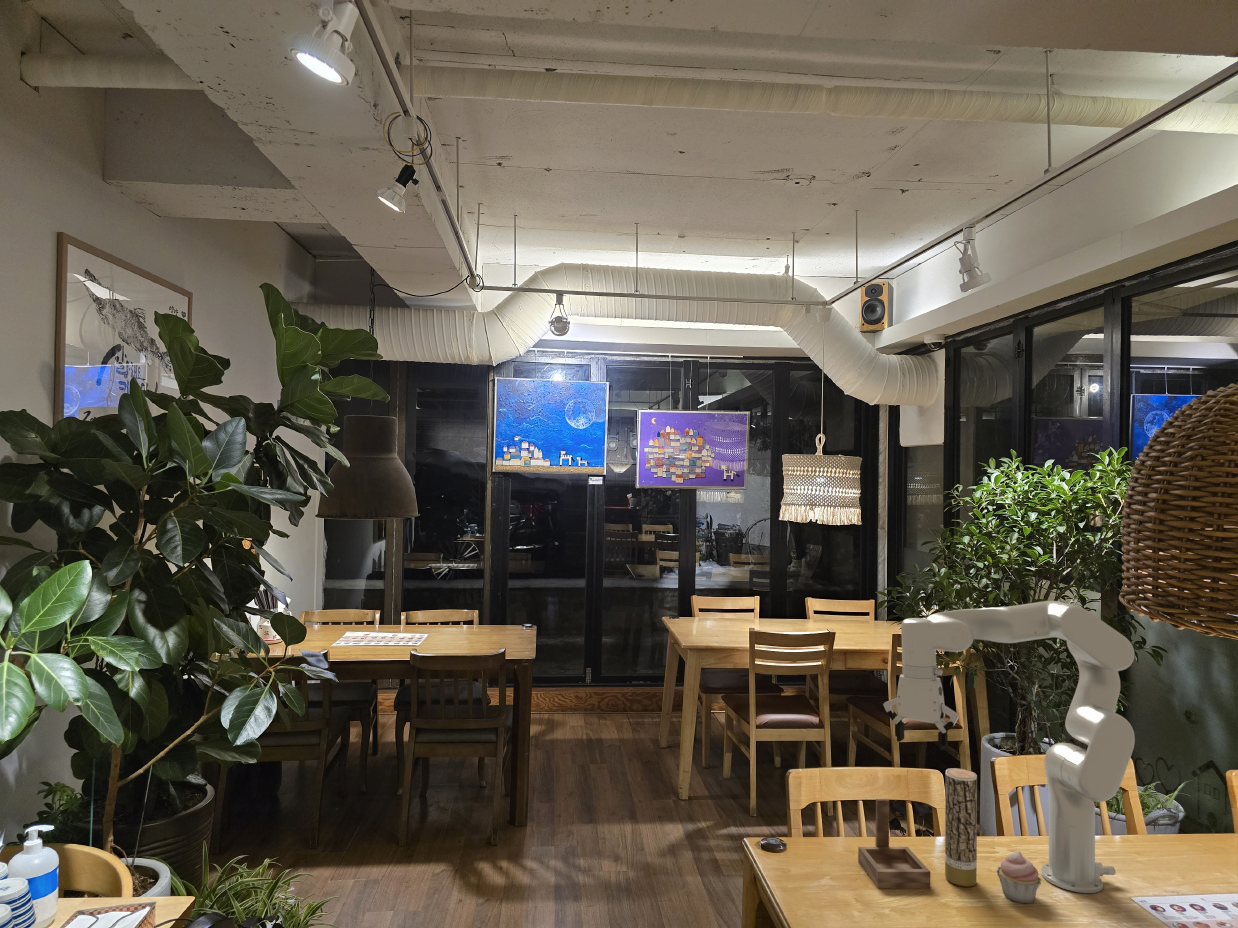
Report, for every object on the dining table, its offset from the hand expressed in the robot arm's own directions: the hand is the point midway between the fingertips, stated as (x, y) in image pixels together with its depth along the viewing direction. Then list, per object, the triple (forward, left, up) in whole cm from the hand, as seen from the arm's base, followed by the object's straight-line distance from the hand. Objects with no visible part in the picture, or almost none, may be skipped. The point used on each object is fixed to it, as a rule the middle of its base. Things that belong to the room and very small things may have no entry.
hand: (921, 744), depth 181 cm
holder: (+5, -3, -32) cm, 32 cm away
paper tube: (-10, 0, -32) cm, 33 cm away
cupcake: (-20, +7, -32) cm, 38 cm away
